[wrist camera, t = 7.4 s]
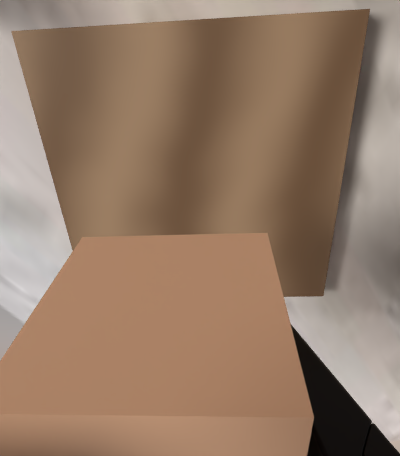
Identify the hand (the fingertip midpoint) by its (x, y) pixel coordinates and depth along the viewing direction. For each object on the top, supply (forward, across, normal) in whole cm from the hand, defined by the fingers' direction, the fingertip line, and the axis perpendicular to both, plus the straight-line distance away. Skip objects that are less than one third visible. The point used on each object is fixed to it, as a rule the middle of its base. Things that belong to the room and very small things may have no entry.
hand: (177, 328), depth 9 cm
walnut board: (+11, 0, 0) cm, 11 cm away
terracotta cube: (+1, 0, 0) cm, 1 cm away
